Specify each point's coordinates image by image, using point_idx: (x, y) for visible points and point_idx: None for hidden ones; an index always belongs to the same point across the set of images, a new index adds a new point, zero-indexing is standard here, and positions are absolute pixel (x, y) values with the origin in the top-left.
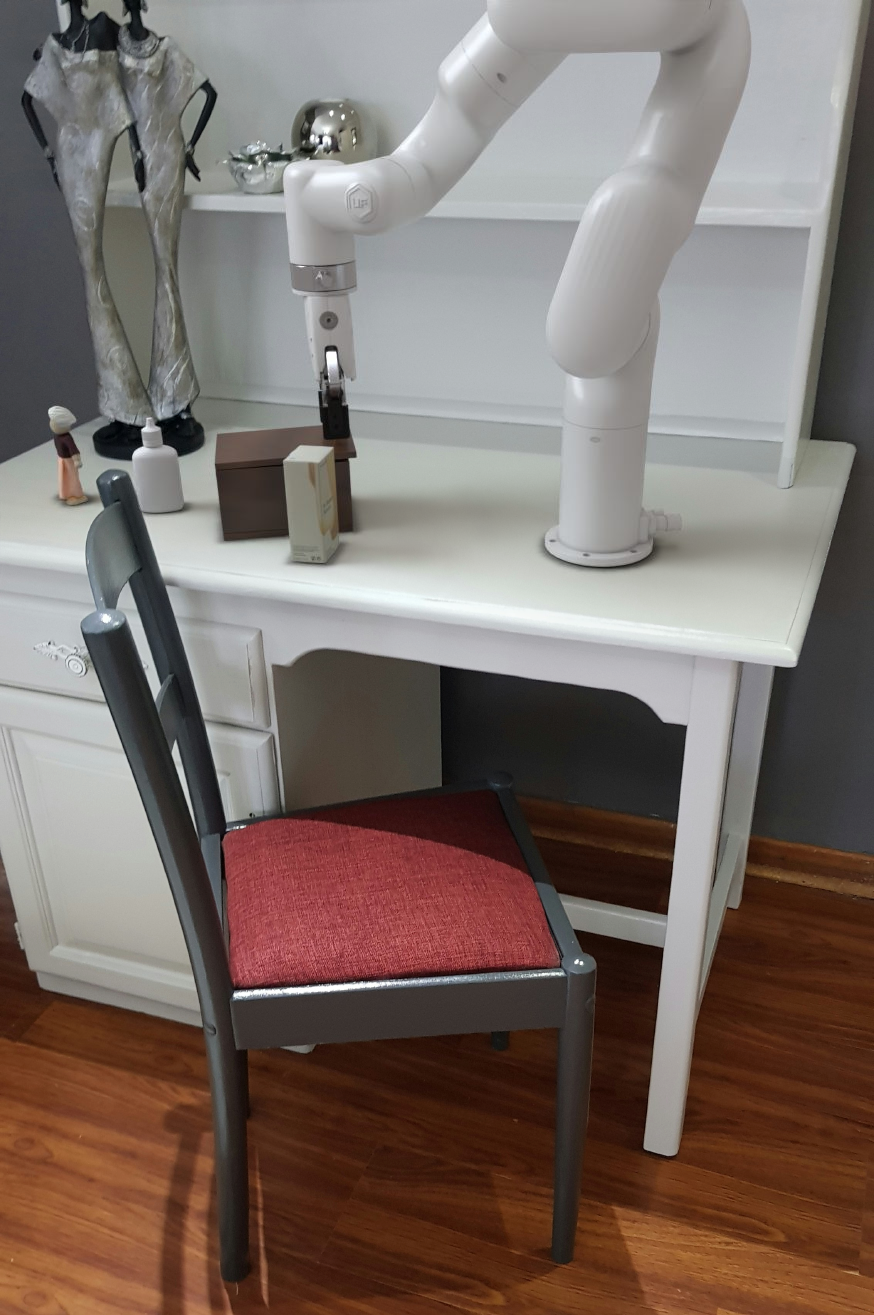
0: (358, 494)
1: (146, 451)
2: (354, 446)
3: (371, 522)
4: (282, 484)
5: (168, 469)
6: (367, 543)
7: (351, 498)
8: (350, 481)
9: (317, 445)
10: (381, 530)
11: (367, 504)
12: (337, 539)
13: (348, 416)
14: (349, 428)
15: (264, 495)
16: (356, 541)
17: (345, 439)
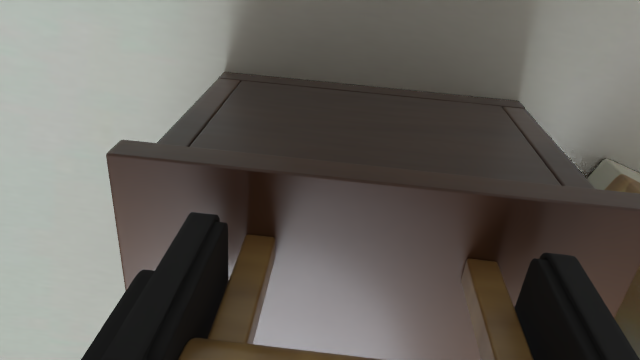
0: (194, 24)
1: None
2: (571, 205)
3: (466, 30)
4: None
5: None
6: (635, 77)
7: (554, 142)
8: (579, 172)
9: (451, 347)
10: (551, 10)
11: (297, 11)
12: (636, 176)
13: (636, 356)
14: (596, 290)
15: None
16: (601, 106)
17: (415, 223)
